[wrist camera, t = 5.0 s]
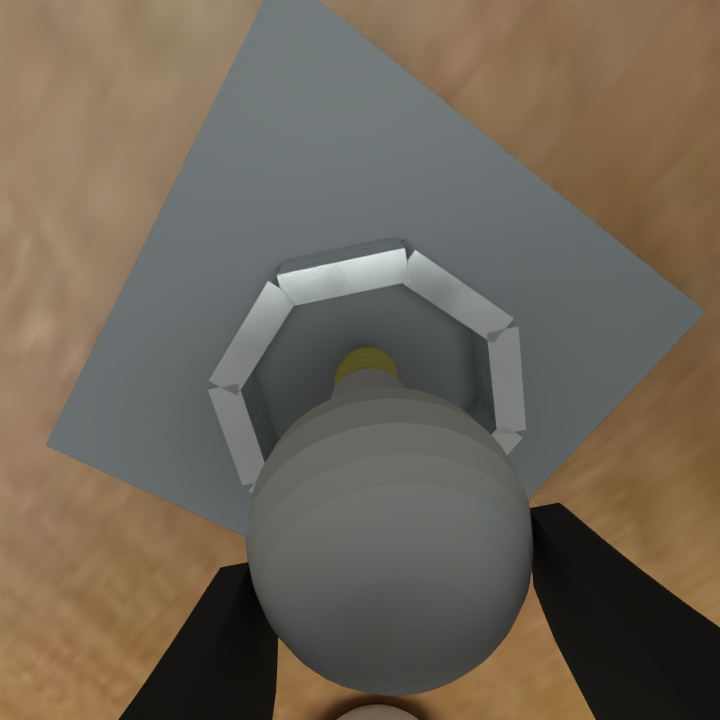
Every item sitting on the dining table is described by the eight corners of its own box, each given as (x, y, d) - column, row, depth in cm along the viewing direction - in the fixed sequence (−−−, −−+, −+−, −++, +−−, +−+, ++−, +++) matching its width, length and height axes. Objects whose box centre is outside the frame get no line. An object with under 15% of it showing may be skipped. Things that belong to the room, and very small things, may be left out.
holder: (694, 307, 18) (760, 332, 15) (416, 604, 23) (427, 663, 20) (282, -23, 13) (268, -72, 11) (54, 437, 19) (5, 484, 16)
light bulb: (269, 422, 17) (195, 755, 7) (300, 273, 14) (250, 487, 5) (416, 449, 17) (509, 779, 8) (466, 312, 15) (663, 555, 6)
